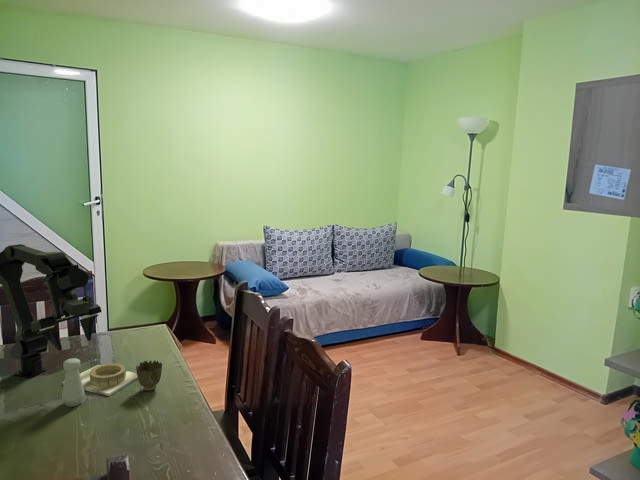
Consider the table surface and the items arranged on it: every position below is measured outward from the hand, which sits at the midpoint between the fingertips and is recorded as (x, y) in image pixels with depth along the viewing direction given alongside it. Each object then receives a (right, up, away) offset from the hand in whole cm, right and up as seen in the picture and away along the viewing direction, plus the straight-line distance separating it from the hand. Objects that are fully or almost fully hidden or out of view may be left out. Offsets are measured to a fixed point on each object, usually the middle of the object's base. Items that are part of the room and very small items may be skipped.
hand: (75, 345), depth 136 cm
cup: (+20, -15, +5) cm, 26 cm away
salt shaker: (+2, -16, -4) cm, 16 cm away
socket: (+4, -13, +10) cm, 17 cm away
